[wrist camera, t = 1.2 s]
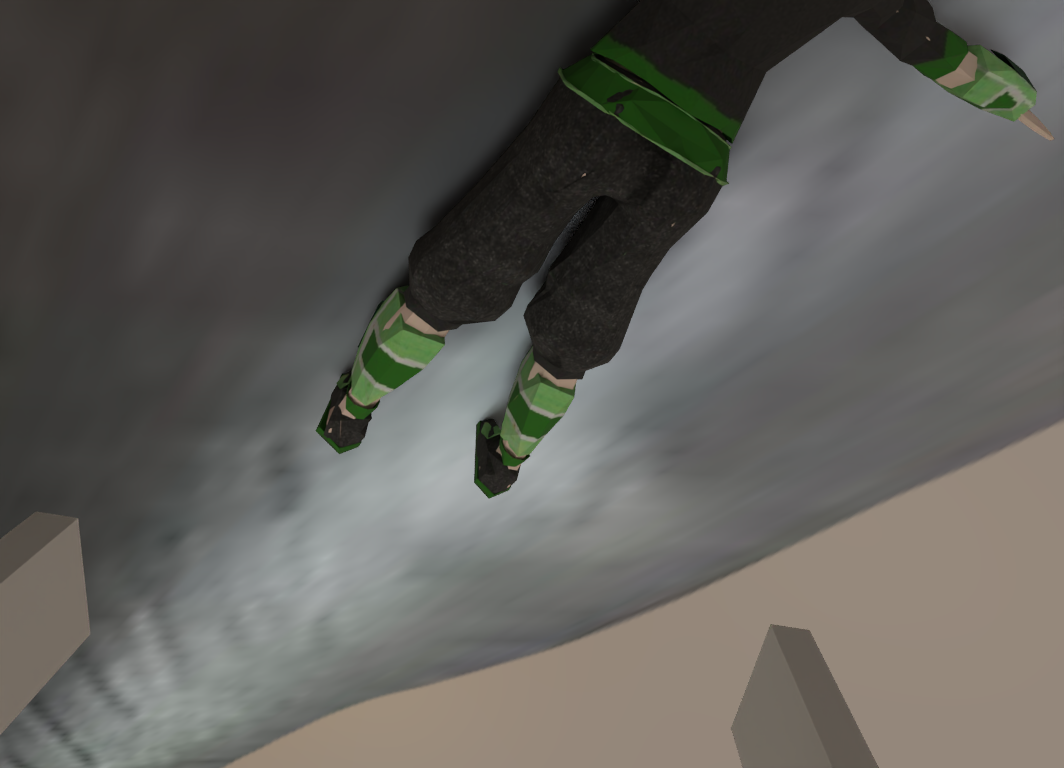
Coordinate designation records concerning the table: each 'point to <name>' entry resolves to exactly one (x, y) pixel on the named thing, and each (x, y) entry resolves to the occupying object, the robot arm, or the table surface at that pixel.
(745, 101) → the figurine
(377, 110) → the table surface
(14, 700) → the robot arm
